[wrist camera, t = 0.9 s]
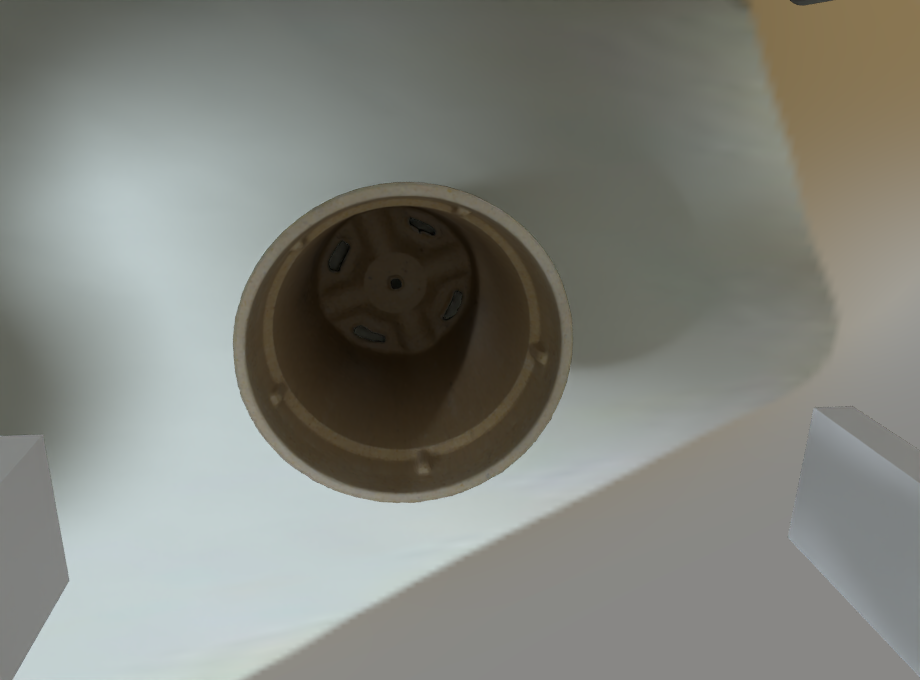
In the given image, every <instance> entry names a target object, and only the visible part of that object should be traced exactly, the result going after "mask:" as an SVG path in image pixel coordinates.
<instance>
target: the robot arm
mask: <svg viewBox="0 0 920 680" xmlns="http://www.w3.org/2000/svg"><path fill="white" fill-rule="evenodd" d="M788 538H789V539H790V540H791V541H792V542H793V543H794V544H795V546H796V547H797V548H798V549H799V550H800V551H801V552H802V553H803V554H804V555H805V556H806V557H807V558H808V559H809V560H810V562H811V563H812V564H813V565H814V566H815V567H816V568H817V569H818V570H819V571H820V572H821V573H822V574H823V575H824V576H825V577H826V579H827V580H828V581H829V582H830V583H831V584H832V585H833V586H834V587H835V588H836V589H837V590H838V591H839V592H840V593H841V594H842V595H843V597H844V598H845V599H846V600H847V601H848V602H849V603H850V604H851V605H852V606H853V607H854V608H855V609H856V610H857V611H858V612H859V613H860V614H861V616H862V617H863V618H864V619H865V620H866V621H867V622H868V623H869V624H870V625H871V626H872V627H873V628H874V629H875V630H876V632H877V633H878V634H879V635H880V636H881V637H882V638H883V639H884V640H885V641H886V642H887V643H888V644H889V645H890V646H891V647H892V648H893V649H894V651H895V652H896V653H897V654H898V655H899V656H900V657H901V658H902V659H903V660H904V661H905V662H906V663H907V664H908V665H909V666H910V668H911V669H912V670H913V671H914V672H915V673H916V674H917V675H918V676H919V677H920V450H918V449H917V448H916V447H914V446H913V445H911V444H909V443H908V442H906V441H905V440H903V439H902V438H900V437H899V436H897V435H896V434H894V433H893V432H891V431H890V430H888V429H887V428H885V427H884V426H882V425H881V424H879V423H878V422H876V421H874V420H873V419H871V418H870V417H868V416H867V415H865V414H864V413H862V412H861V411H859V410H857V409H856V408H855V407H853V406H845V407H818V408H814V410H813V415H812V420H811V425H810V430H809V435H808V440H807V445H806V449H805V454H804V459H803V464H802V469H801V474H800V479H799V484H798V489H797V494H796V499H795V504H794V509H793V514H792V519H791V524H790V529H789V534H788ZM68 582H69V576H68V570H67V565H66V559H65V554H64V548H63V543H62V537H61V531H60V526H59V520H58V515H57V509H56V504H55V498H54V493H53V487H52V481H51V476H50V470H49V465H48V459H47V454H46V448H45V443H44V437H43V434H41V435H12V436H0V680H12V679H13V678H14V676H15V674H16V673H17V671H18V669H19V667H20V666H21V664H22V662H23V660H24V659H25V657H26V655H27V653H28V652H29V650H30V648H31V646H32V645H33V643H34V641H35V639H36V638H37V636H38V634H39V632H40V631H41V629H42V627H43V625H44V624H45V622H46V620H47V618H48V617H49V615H50V613H51V611H52V610H53V608H54V606H55V604H56V603H57V601H58V599H59V598H60V596H61V594H62V592H63V591H64V589H65V587H66V585H67V584H68Z"/></svg>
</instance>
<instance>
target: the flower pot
mask: <svg viewBox="0 0 920 680" xmlns="http://www.w3.org/2000/svg"><path fill="white" fill-rule="evenodd" d="M410 218H413V219H416V220H419V221H421V222H423V223H425V224H427V225H429V226H431V227H432V228H433V229H434V231H435V235H431V234H430V233H427V232H425V231H421V232H418V231H419V230H418V229H417V228H416V227H414V226H413V225H410V223H409V220H410ZM342 241H345V242H346V243H347V244H349V246H350V248H349V251H348V252H347V254H346V257H345V259H344V260H343V262H342V264H341V267H340V270H339V271H333V270H331V269H330V268H329V264H328V262H329V259H330V257H331V255H332V254H333V252H334V251H335V250H336V248H337V246H338V244H339V243H341V242H342ZM393 279H399V280H400V281H401V283H402V284H401V287H400V288H397V289H393V288H392V286H391V280H393ZM456 291H460V292H461V293H462V302H461V305H460V306H459V308H458V310H457V312H456V314H455V315H454V316H453V317H452V318H450V319H448V320H445V319H444V318H443V316H444V315H445V313H446V311H447V309H448V307H449V305H450V303H451V301H452V298H453V295H454V293H455V292H456ZM358 326H363V327H365V328H367V329H368V330H369V331H372V332H374V333H377V334H380V335H382V336H384V337H385V341H384V342H381V341H372V340H369V339H365V338H363V337H360V336H358V335H356V334H355V333H354V328H356V327H358ZM572 346H573V330H572V316H571V312H570V308H569V303H568V299H567V296H566V292H565V289H564V286H563V284H562V281H561V279H560V276H559V274H558V272H557V270H556V268H555V266H554V264H553V262H552V261H551V259H550V258H549V256H548V255H547V253H546V252H545V250H544V249H543V248H542V246H541V245H540V244H539V243H538V241H537V240H536V239H535V238H534V237H533V236H532V235H531V234H530V232H528V231H527V230H526V229H525V228H524V227H523V226H522V225H521V224H520V223H519V222H517V221H516V220H515V219H513V218H512V217H511V216H509V215H508V214H507V213H505V212H504V211H502V210H501V209H499V208H498V207H496V206H494V205H492V204H490V203H488V202H487V201H485V200H483V199H481V198H479V197H476V196H474V195H472V194H469V193H466V192H463V191H460V190H457V189H453V188H450V187H447V186H440V185H435V184H428V183H419V182H394V183H386V184H378V185H373V186H368V187H363V188H359V189H356V190H353V191H350V192H347V193H344V194H342V195H339V196H336V197H334V198H332V199H330V200H328V201H326V202H324V203H322V204H321V205H319V206H317V207H315V208H313V209H312V210H310V211H309V212H307V213H306V214H305V215H303V216H302V217H300V218H299V219H298V220H297V221H295V222H294V223H293V224H292V225H290V226H289V227H288V228H287V229H286V230H285V231H283V232H282V234H281V235H280V236H279V237H278V238H277V239H276V240H275V241H274V242H273V243H272V244H271V245H270V247H269V248H268V249H267V250H266V252H265V253H264V254H263V256H262V258H261V259H260V261H259V262H258V263H257V265H256V266H255V268H254V270H253V272H252V274H251V276H250V277H249V279H248V281H247V284H246V286H245V288H244V291H243V293H242V296H241V300H240V303H239V306H238V310H237V314H236V317H235V325H234V334H233V351H234V364H235V373H236V378H237V383H238V387H239V389H240V394H241V398H242V400H243V402H244V404H245V406H246V409H247V410H248V413H249V415H250V417H251V419H252V421H253V422H254V424H255V426H256V427H257V429H258V430H259V432H260V433H261V435H262V436H263V437H264V439H265V440H266V441H267V442H268V444H269V445H270V446H271V447H272V448H273V449H274V450H275V451H276V452H277V453H278V454H279V456H280V457H281V458H282V459H283V460H285V461H286V462H287V463H289V464H290V465H291V466H292V467H294V468H295V469H297V470H298V471H300V472H301V473H303V474H305V475H307V476H308V477H309V478H310V479H312V480H313V481H315V482H317V483H320V484H322V485H324V486H326V487H328V488H331V489H333V490H335V491H338V492H341V493H344V494H347V495H351V496H354V497H358V498H363V499H368V500H373V501H379V502H393V503H400V502H405V503H415V502H422V501H427V500H434V499H438V498H443V497H448V496H453V495H455V494H457V493H462V492H464V491H466V490H468V489H471V488H473V487H475V486H478V485H480V484H482V483H484V482H485V481H487V480H489V479H490V478H492V477H494V476H496V475H498V474H500V473H502V472H503V471H504V470H505V469H506V468H508V467H509V466H510V465H511V464H513V463H514V462H515V461H516V460H517V459H519V458H520V457H521V456H522V455H523V454H524V453H525V452H526V451H527V450H528V449H529V448H530V447H531V446H532V444H533V443H534V442H535V441H536V440H537V438H538V437H539V435H540V434H541V433H542V431H543V430H544V428H545V427H546V425H547V424H548V423H549V421H550V420H551V418H552V415H553V413H554V412H555V410H556V408H557V405H558V403H559V401H560V399H561V397H562V394H563V391H564V388H565V385H566V382H567V378H568V374H569V370H570V364H571V359H572Z"/></svg>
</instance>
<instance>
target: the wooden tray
mask: <svg viewBox="0 0 920 680" xmlns="http://www.w3.org/2000/svg"><path fill="white" fill-rule="evenodd" d="M790 1H791V2H793V3H794V4H797V5H809V4H815V3H820V2H826V1H832V0H790Z"/></svg>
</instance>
